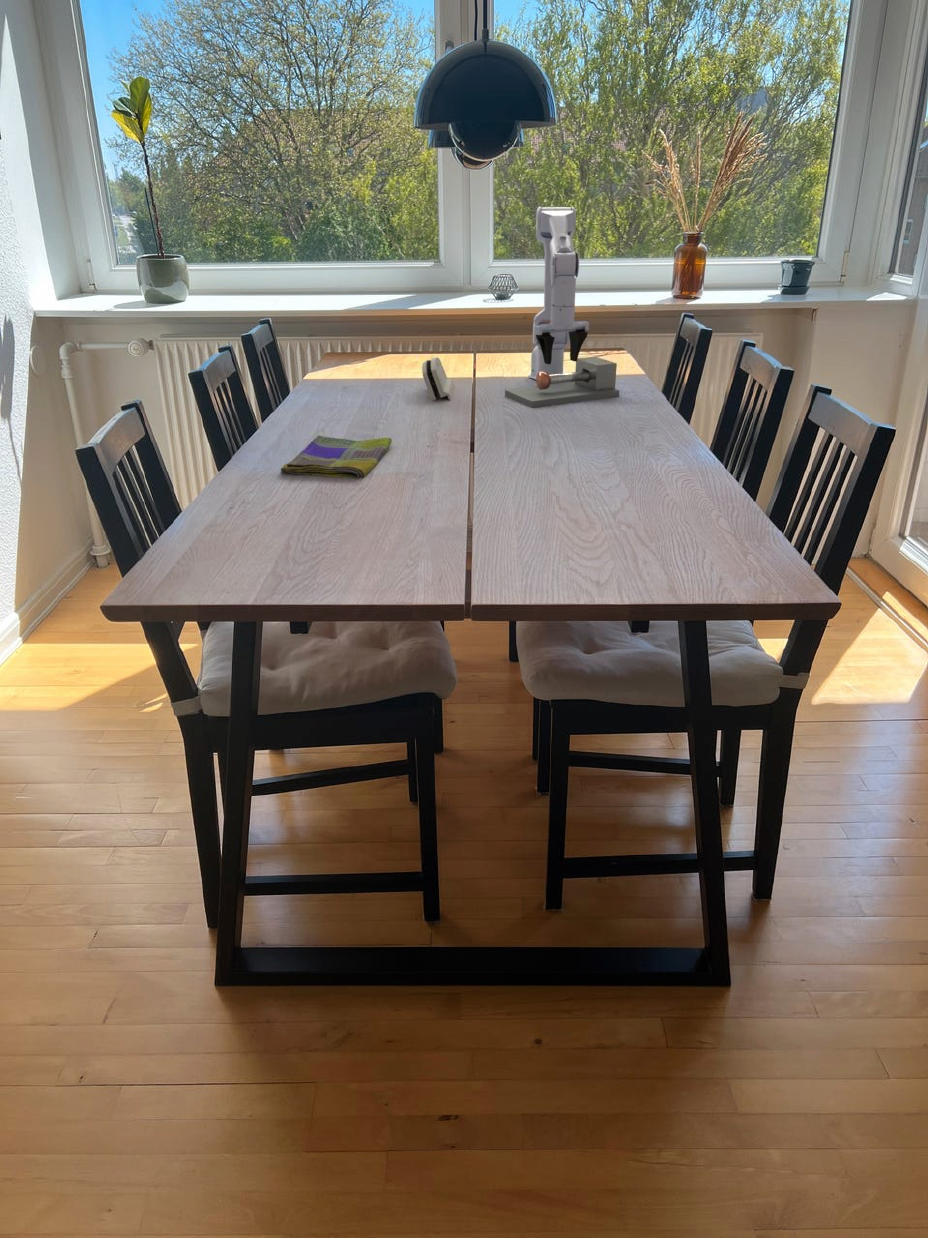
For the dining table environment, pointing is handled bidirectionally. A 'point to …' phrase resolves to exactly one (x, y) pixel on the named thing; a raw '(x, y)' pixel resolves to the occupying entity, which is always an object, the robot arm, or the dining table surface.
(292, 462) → the dish towel
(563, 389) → the base plate
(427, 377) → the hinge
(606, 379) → the bearing block
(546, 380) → the shaft
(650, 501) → the dining table surface
